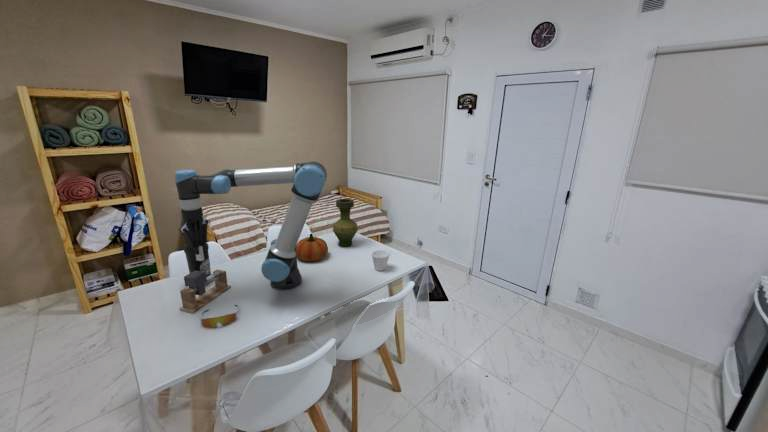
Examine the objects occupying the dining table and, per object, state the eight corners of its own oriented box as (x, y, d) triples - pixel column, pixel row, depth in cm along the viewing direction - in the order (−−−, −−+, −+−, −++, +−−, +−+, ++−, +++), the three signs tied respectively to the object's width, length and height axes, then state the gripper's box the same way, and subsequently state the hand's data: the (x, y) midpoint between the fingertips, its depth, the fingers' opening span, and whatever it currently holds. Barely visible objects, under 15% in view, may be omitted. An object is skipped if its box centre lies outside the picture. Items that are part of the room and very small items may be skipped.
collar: (198, 288, 139) (195, 270, 136) (208, 290, 138) (205, 272, 135) (187, 295, 133) (183, 276, 131) (197, 297, 132) (194, 278, 129)
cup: (368, 270, 171) (368, 255, 168) (375, 263, 180) (375, 248, 177) (385, 274, 167) (385, 258, 165) (391, 266, 176) (392, 251, 173)
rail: (218, 285, 152) (216, 268, 149) (231, 287, 150) (228, 270, 148) (180, 310, 132) (176, 291, 129) (193, 313, 130) (190, 294, 127)
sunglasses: (198, 332, 119) (196, 320, 118) (204, 315, 133) (203, 304, 132) (238, 324, 124) (237, 313, 124) (240, 308, 138) (239, 298, 137)
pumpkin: (313, 248, 199) (312, 225, 194) (334, 256, 188) (334, 232, 183) (288, 258, 184) (286, 234, 179) (310, 267, 173) (309, 242, 168)
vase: (329, 248, 198) (328, 203, 189) (337, 239, 214) (336, 197, 205) (354, 250, 196) (354, 205, 187) (360, 241, 211) (360, 198, 202)
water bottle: (203, 289, 148) (196, 244, 141) (185, 286, 150) (176, 242, 143) (218, 279, 158) (212, 237, 151) (200, 276, 160) (193, 234, 153)
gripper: (196, 203, 135) (205, 253, 142) (170, 211, 123) (180, 265, 130) (211, 204, 133) (219, 255, 140) (185, 213, 121) (195, 267, 128)
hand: (200, 260), depth 135 cm, fingers closed
